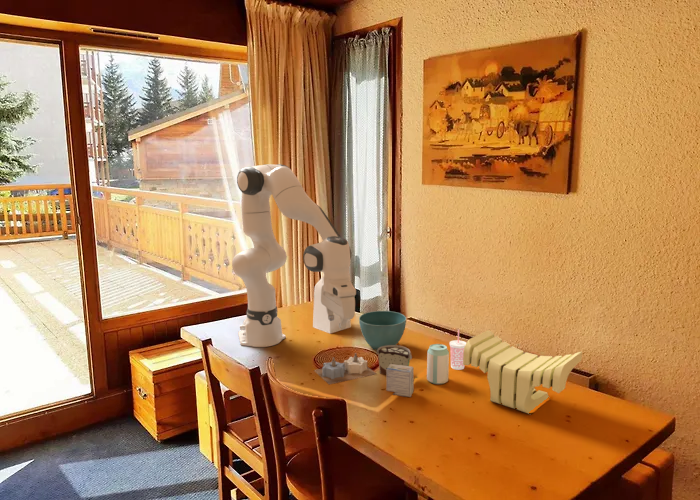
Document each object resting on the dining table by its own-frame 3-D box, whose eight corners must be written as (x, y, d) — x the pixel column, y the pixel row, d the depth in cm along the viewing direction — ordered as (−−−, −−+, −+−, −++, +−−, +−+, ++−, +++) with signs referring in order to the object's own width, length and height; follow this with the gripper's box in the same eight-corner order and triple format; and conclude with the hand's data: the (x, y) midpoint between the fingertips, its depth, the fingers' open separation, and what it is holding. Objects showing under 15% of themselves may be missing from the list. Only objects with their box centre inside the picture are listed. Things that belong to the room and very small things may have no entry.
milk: (333, 321, 245) (332, 264, 241) (350, 327, 237) (350, 269, 232) (312, 327, 237) (311, 269, 233) (329, 333, 229) (328, 273, 224)
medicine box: (413, 391, 174) (414, 366, 172) (410, 397, 170) (410, 371, 168) (389, 388, 176) (389, 363, 175) (386, 394, 172) (386, 368, 171)
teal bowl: (399, 359, 201) (399, 327, 199) (353, 353, 207) (352, 322, 204) (410, 342, 218) (410, 313, 216) (367, 337, 224) (366, 309, 221)
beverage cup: (446, 368, 192) (447, 330, 189) (451, 362, 197) (452, 325, 194) (463, 371, 189) (464, 333, 186) (468, 365, 194) (469, 328, 192)
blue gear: (318, 372, 186) (318, 363, 186) (339, 368, 190) (339, 359, 189) (327, 380, 180) (327, 371, 179) (348, 375, 183) (348, 367, 183)
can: (430, 374, 187) (431, 341, 184) (450, 378, 184) (451, 344, 181) (424, 382, 180) (424, 348, 178) (444, 386, 177) (445, 352, 175)
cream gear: (340, 371, 187) (340, 362, 187) (353, 363, 194) (352, 355, 193) (358, 376, 183) (358, 367, 183) (370, 368, 190) (370, 359, 189)
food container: (416, 375, 186) (416, 347, 185) (410, 382, 181) (410, 353, 179) (382, 369, 192) (382, 342, 190) (376, 376, 186) (376, 348, 184)
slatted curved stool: (462, 395, 171) (463, 342, 168) (487, 379, 182) (489, 329, 179) (556, 428, 151) (560, 367, 148) (577, 407, 162) (582, 351, 159)
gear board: (313, 373, 189) (312, 353, 187) (359, 363, 197) (359, 345, 195) (329, 387, 177) (328, 367, 176) (376, 377, 185) (377, 357, 184)
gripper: (316, 278, 190) (316, 316, 193) (340, 293, 172) (340, 335, 175) (332, 277, 193) (332, 314, 196) (358, 291, 175) (358, 332, 178)
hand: (336, 324), depth 185 cm, fingers open, 8 cm apart
